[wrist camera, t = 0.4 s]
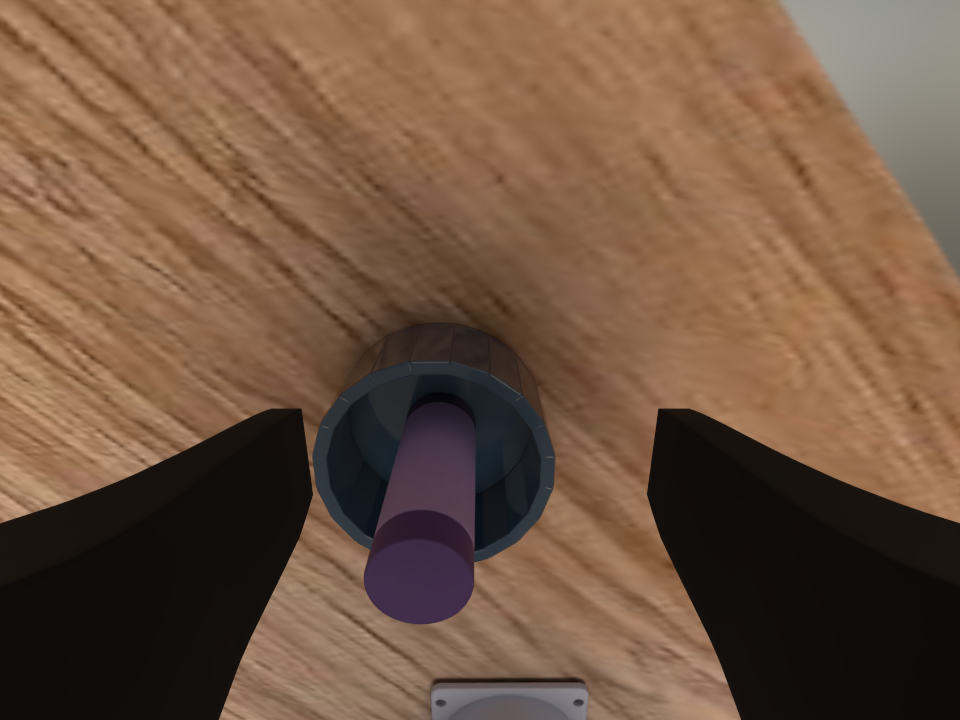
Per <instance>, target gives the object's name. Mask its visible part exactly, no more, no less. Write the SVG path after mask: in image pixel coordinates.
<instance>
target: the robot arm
mask: <svg viewBox="0 0 960 720" xmlns="http://www.w3.org/2000/svg"><path fill="white" fill-rule="evenodd" d="M312 496H313V491H312V484H311V476H310V469H309V461H308V454H307V446H306V439H305V431H304V424H303V416H302V409H269V410H266V411H263V412H261V413H258V414H256V415H254V416H252V417H250V418H248V419H246V420H244V421H242V422H240V423H238V424H236V425H234V426H232V427H230V428H228V429H226V430H224V431H222V432H220V433H218V434H216V435H214V436H212V437H210V438H209V439H207V440H205V441H203V442H201V443H199V444H197V445H195V446H193V447H191V448H189V449H187V450H185V451H183V452H181V453H179V454H177V455H174V456H172V457H170V458H168V459H166V460H164V461H162V462H160V463H158V464H156V465H153V466H151V467H149V468H147V469H145V470H143V471H141V472H139V473H137V474H134V475H132V476H130V477H127V478H125V479H123V480H120V481H118V482H116V483H113V484H111V485H108V486H106V487H103V488H101V489H98V490H96V491H93V492H91V493H88V494H85V495H83V496H80V497H78V498H75V499H72V500H70V501H67V502H64V503H61V504H59V505H56V506H53V507H49V508H46V509H43V510H40V511H37V512H34V513H31V514H28V515H25V516H22V517H19V518H15V519H12V520H9V521H6V522H3V523H0V720H219V718H220V715H221V712H222V709H223V707H224V704H225V701H226V699H227V696H228V693H229V690H230V688H231V685H232V682H233V680H234V677H235V674H236V671H237V669H238V666H239V663H240V661H241V659H242V656H243V654H244V652H245V650H246V647H247V645H248V643H249V640H250V638H251V636H252V634H253V632H254V630H255V628H256V626H257V624H258V622H259V620H260V618H261V616H262V614H263V612H264V610H265V608H266V605H267V603H268V601H269V599H270V597H271V595H272V593H273V591H274V589H275V587H276V585H277V583H278V581H279V579H280V577H281V575H282V573H283V571H284V569H285V567H286V565H287V562H288V560H289V558H290V556H291V554H292V552H293V550H294V548H295V546H296V544H297V541H298V539H299V537H300V534H301V531H302V528H303V525H304V522H305V519H306V516H307V513H308V509H309V506H310V503H311V499H312ZM647 496H648V499H649V503H650V506H651V509H652V513H653V516H654V519H655V522H656V525H657V528H658V531H659V534H660V537H661V539H662V541H663V544H664V546H665V548H666V550H667V552H668V554H669V556H670V558H671V560H672V563H673V565H674V567H675V569H676V571H677V573H678V575H679V577H680V579H681V581H682V583H683V585H684V587H685V589H686V591H687V593H688V595H689V597H690V599H691V601H692V603H693V606H694V608H695V610H696V612H697V614H698V616H699V618H700V620H701V622H702V624H703V626H704V628H705V630H706V632H707V634H708V636H709V638H710V641H711V643H712V645H713V647H714V650H715V652H716V654H717V656H718V659H719V661H720V664H721V666H722V669H723V672H724V674H725V677H726V680H727V682H728V685H729V688H730V691H731V693H732V696H733V699H734V701H735V704H736V707H737V710H738V712H739V715H740V718H741V720H960V523H957V522H954V521H951V520H948V519H944V518H941V517H938V516H935V515H932V514H928V513H925V512H922V511H919V510H917V509H914V508H911V507H908V506H905V505H902V504H899V503H896V502H894V501H891V500H889V499H886V498H883V497H881V496H878V495H875V494H873V493H870V492H868V491H865V490H862V489H860V488H857V487H854V486H852V485H850V484H847V483H845V482H842V481H840V480H838V479H835V478H833V477H831V476H829V475H826V474H824V473H822V472H820V471H818V470H815V469H813V468H811V467H809V466H807V465H804V464H802V463H800V462H798V461H796V460H794V459H792V458H790V457H788V456H785V455H783V454H781V453H779V452H777V451H775V450H773V449H771V448H769V447H767V446H765V445H763V444H761V443H760V442H758V441H756V440H754V439H752V438H750V437H748V436H746V435H744V434H742V433H740V432H738V431H736V430H734V429H732V428H730V427H729V426H727V425H725V424H723V423H721V422H719V421H717V420H715V419H713V418H711V417H708V416H706V415H704V414H702V413H699V412H697V411H694V410H691V409H658V416H657V424H656V431H655V439H654V446H653V454H652V461H651V468H650V476H649V483H648V491H647ZM588 696H589V694H588V689H587V686H586V685H585V684H583V683H579V682H538V683H437V684H435V685H433V687H432V689H431V710H432V720H586V716H587V706H588Z"/></svg>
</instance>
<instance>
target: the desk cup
mask: <svg viewBox="0 0 960 720" xmlns="http://www.w3.org/2000/svg"><path fill="white" fill-rule="evenodd" d="M434 393H446V394H451V395H454V396H456V397H458V398H460V399H462V400H463V401H464V402H466V403H467V404H468V405H469V407H470V408H471V410H472V411H473V413H474V416H475V420H476V466H475V540H474V562H477V561H481V560H485V559H488V558H491V557H492V556H494V555H496V554H498V553H499V552H501V551H503V550H504V549H506V548H508V547H510V546H511V545H513V544H515V543H517V542H518V541H519V540H520V539H521V538H522V537H523V536H524V535H525V534H526V533H527V531H528V530H529V529H530V528H531V527H532V526H533V525H534V524H535V523H536V522H537V521H538V520H539V518H540V517H541V515H542V513H543V511H544V508H545V506H546V504H547V502H548V499H549V497H550V495H551V492H552V490H553V487H554V473H555V452H554V448H553V444H552V440H551V436H550V432H549V427H548V423H547V419H546V415H545V411H544V407H543V404H542V401H541V398H540V394H539V391H538V388H537V385H536V382H535V381H534V379H533V377H532V375H531V373H530V371H529V370H528V368H527V367H526V365H525V364H524V362H523V361H522V360H521V359H520V358H519V357H518V356H517V355H516V354H515V352H513V351H512V350H511V349H510V348H509V347H507V346H506V345H505V344H504V343H502V342H501V341H499V340H497V339H496V338H494V337H493V336H491V335H488V334H486V333H484V332H482V331H480V330H477V329H474V328H470V327H467V326H462V325H457V324H449V323H430V324H421V325H416V326H411V327H408V328H405V329H402V330H399V331H397V332H395V333H393V334H390V335H388V336H386V337H385V338H383V339H382V340H380V341H379V342H377V343H376V344H374V345H373V346H372V347H371V348H370V349H369V350H368V351H367V352H365V353H364V355H363V356H362V357H361V358H360V359H359V361H358V362H357V363H356V365H355V366H354V368H353V370H352V371H351V373H350V374H349V375H348V377H347V378H346V380H345V381H344V383H343V385H342V387H341V388H340V390H339V392H338V393H337V395H336V397H335V399H334V400H333V402H332V404H331V405H330V407H329V409H328V411H327V412H326V414H325V416H324V417H323V419H322V421H321V423H320V425H319V429H318V433H317V438H316V442H315V446H314V450H313V454H312V455H313V457H312V459H313V466H314V473H315V480H316V487H317V491H318V492H319V494H320V496H321V498H322V500H323V502H324V504H325V506H326V508H327V510H328V512H329V513H330V515H331V517H332V518H333V520H334V521H335V522H336V523H337V524H338V525H339V526H340V527H341V528H342V529H343V530H344V531H345V532H346V533H347V534H348V535H349V536H351V537H352V538H353V539H354V540H355V541H357V543H359V544H360V545H362V546H364V547H366V548H368V549H370V550H371V546H372V542H373V539H374V535H375V531H376V528H377V524H378V520H379V517H380V513H381V509H382V506H383V502H384V498H385V495H386V491H387V487H388V484H389V480H390V476H391V473H392V469H393V465H394V462H395V458H396V454H397V451H398V447H399V443H400V440H401V436H402V432H403V429H404V425H405V421H406V418H407V415H408V412H409V410H410V408H411V407H412V405H413V404H414V403H415V402H416V401H418V400H419V399H421V398H422V397H424V396H426V395H430V394H434Z"/></svg>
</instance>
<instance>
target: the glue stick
mask: <svg viewBox="0 0 960 720" xmlns="http://www.w3.org/2000/svg"><path fill="white" fill-rule="evenodd" d="M475 466H476V420H475V416H474V413H473V411H472V410H471V408H470V407H469V405H468V404H467V403H466V402H464V401H463V400H462V399H460V398H458V397H456V396H454V395H451V394H446V393H434V394H430V395H426V396H424V397H422V398H421V399H419V400H418V401H416V402H415V403H414V404H413V405H412V407H411V408H410V410H409V412H408V415H407V418H406V421H405V425H404V429H403V432H402V436H401V440H400V443H399V447H398V451H397V454H396V458H395V462H394V465H393V469H392V473H391V476H390V480H389V484H388V487H387V491H386V495H385V498H384V502H383V506H382V509H381V513H380V517H379V520H378V524H377V528H376V531H375V535H374V539H373V542H372V546H371V550H370V553H369V557H368V561H367V564H366V568H365V572H364V585H365V589H366V592H367V595H368V596H369V598H370V600H371V601H372V603H373V604H374V605H375V606H376V607H377V608H378V609H379V610H380V611H382V612H383V613H384V614H386V615H388V616H389V617H391V618H393V619H396V620H399V621H402V622H406V623H412V624H430V623H436V622H440V621H443V620H445V619H448V618H450V617H452V616H453V615H455V614H456V613H458V612H459V611H460V610H461V609H462V608H463V607H464V606H465V605H466V603H467V602H468V600H469V599H470V597H471V594H472V591H473V587H474V540H475Z"/></svg>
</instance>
